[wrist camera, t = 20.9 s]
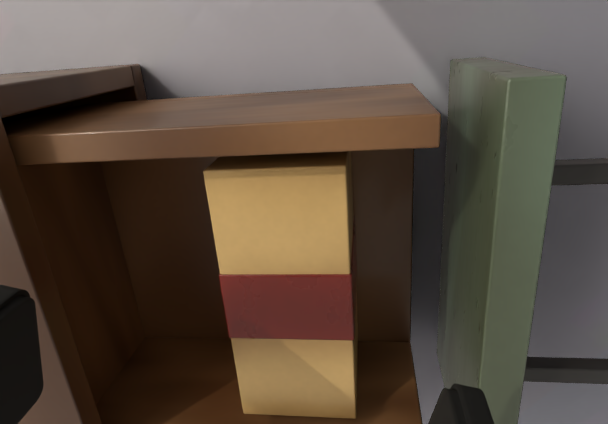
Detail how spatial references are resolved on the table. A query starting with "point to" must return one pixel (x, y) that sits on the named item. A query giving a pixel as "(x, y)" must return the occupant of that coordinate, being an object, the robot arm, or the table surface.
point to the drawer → (368, 221)
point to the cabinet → (26, 239)
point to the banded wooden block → (288, 279)
